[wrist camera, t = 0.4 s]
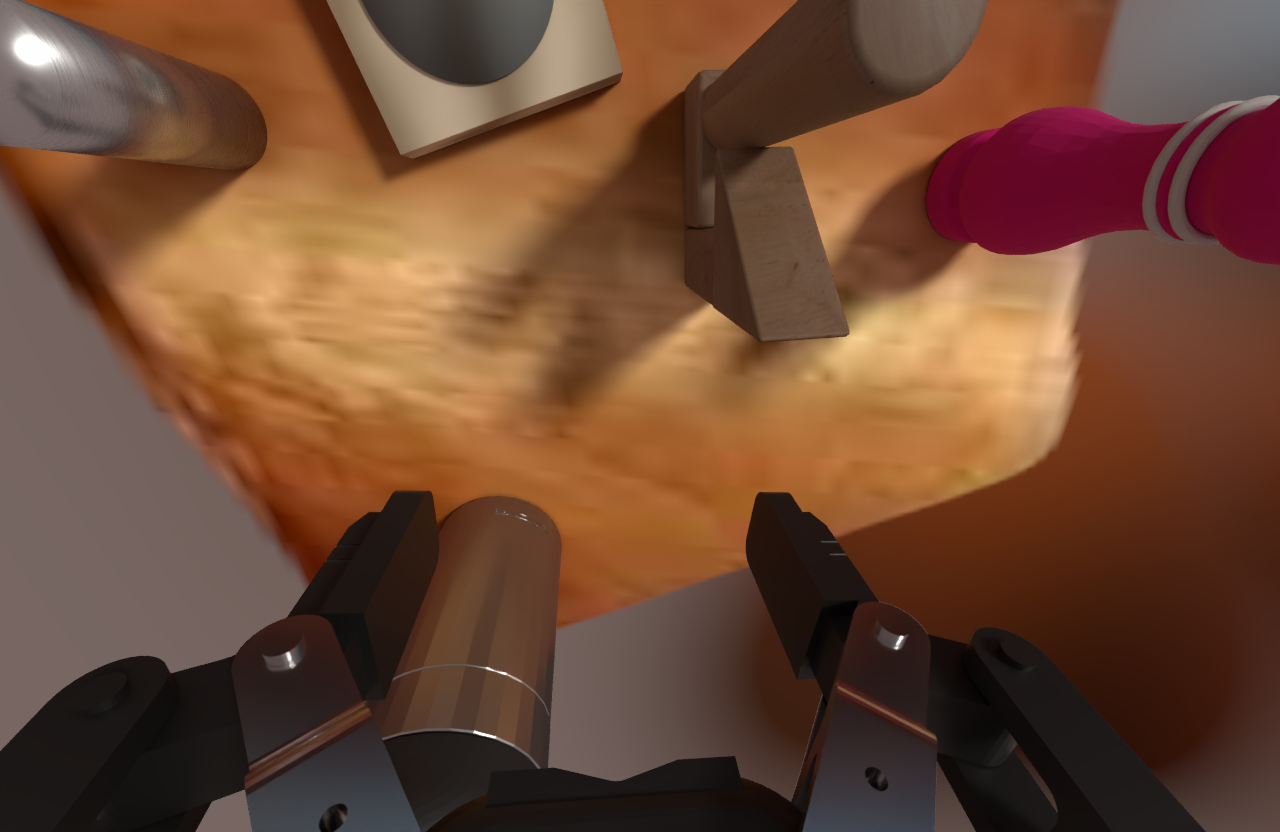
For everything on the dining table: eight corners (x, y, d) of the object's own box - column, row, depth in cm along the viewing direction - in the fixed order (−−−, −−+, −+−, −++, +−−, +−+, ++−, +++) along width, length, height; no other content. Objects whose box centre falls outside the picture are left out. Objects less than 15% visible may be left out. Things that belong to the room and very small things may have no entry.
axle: (253, 187, 26) (44, 174, 16) (160, 137, 24) (-133, 88, 14) (278, 107, 24) (67, 37, 14) (181, 49, 23) (-124, -72, 13)
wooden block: (683, 287, 30) (802, 378, 14) (682, 86, 26) (853, -120, 10) (739, 283, 31) (920, 369, 14) (747, 85, 26) (1020, -118, 10)
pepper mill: (968, 270, 32) (1476, 350, 14) (894, 209, 30) (1378, 210, 12) (1050, 167, 30) (1774, 103, 12) (976, 94, 28) (1722, -122, 10)
